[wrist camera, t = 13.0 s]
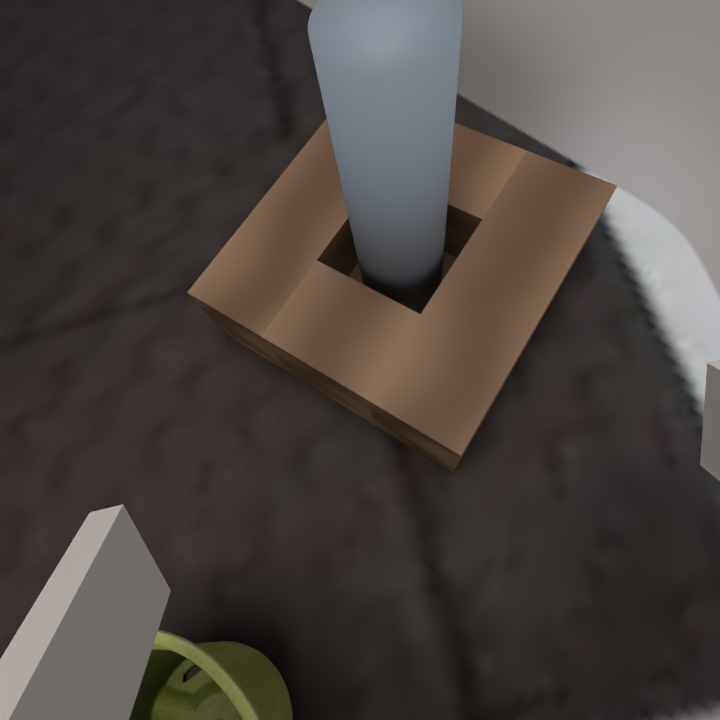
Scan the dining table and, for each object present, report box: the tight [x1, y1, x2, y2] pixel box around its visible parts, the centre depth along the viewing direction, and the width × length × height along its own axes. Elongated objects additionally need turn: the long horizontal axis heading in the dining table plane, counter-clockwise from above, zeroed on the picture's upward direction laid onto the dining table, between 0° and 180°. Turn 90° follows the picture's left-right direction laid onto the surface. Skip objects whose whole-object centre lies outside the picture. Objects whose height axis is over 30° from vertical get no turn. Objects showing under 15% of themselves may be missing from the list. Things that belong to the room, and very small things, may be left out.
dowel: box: [308, 0, 463, 314], centre depth 19 cm, size 4×4×14 cm
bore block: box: [187, 119, 617, 473], centre depth 25 cm, size 14×14×5 cm
